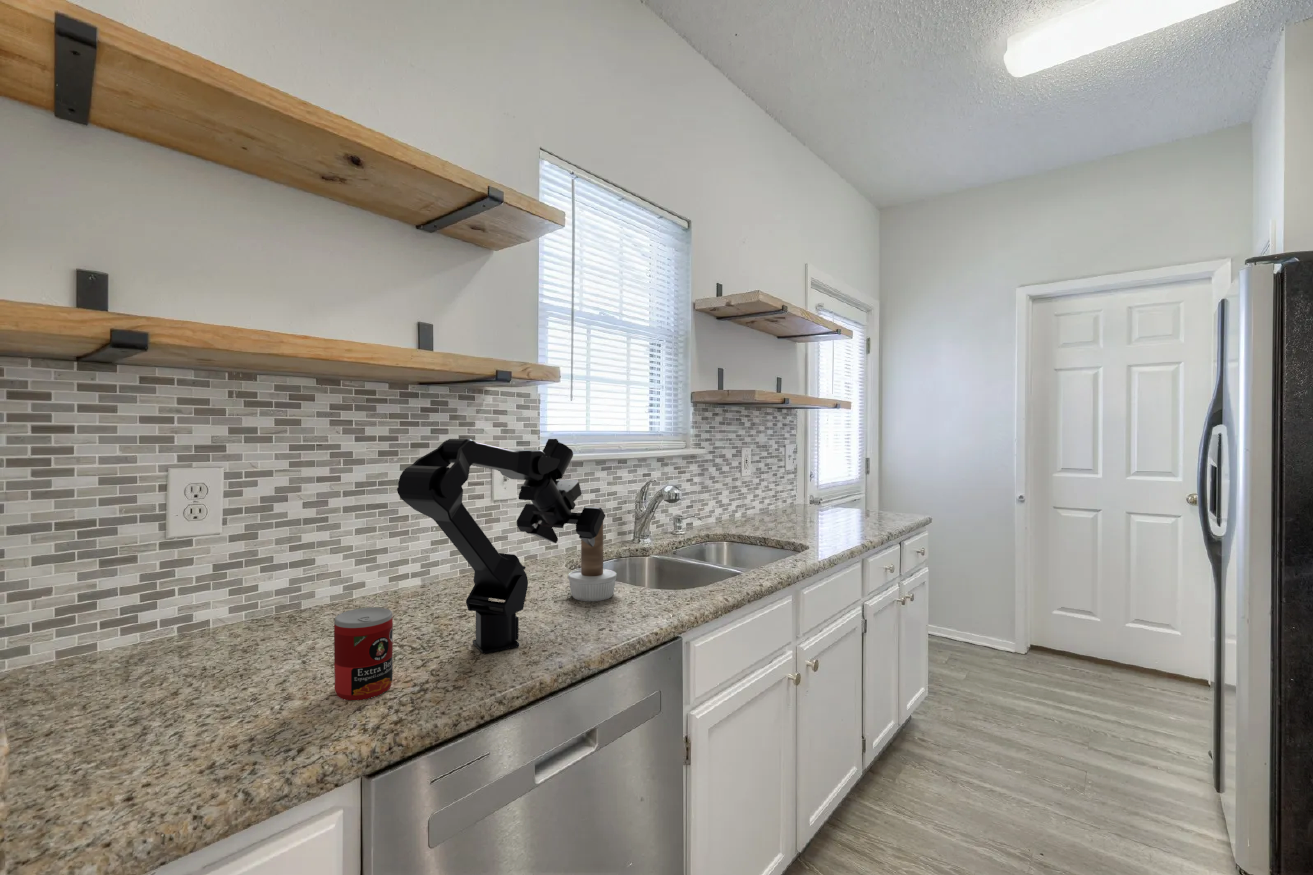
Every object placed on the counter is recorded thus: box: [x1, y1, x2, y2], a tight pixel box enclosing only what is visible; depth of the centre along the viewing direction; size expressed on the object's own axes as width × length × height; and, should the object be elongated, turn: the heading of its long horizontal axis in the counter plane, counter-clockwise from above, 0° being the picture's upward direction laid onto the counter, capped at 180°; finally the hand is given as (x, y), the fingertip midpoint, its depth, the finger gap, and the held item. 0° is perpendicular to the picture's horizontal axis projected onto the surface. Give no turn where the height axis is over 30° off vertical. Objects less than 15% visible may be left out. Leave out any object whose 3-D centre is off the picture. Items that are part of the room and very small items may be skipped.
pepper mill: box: [580, 522, 604, 576], centre depth 137 cm, size 5×5×15 cm
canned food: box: [333, 606, 394, 701], centre depth 88 cm, size 8×8×11 cm
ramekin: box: [567, 568, 618, 602], centre depth 138 cm, size 11×11×5 cm
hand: (574, 543), depth 130 cm, fingers open, 9 cm apart
